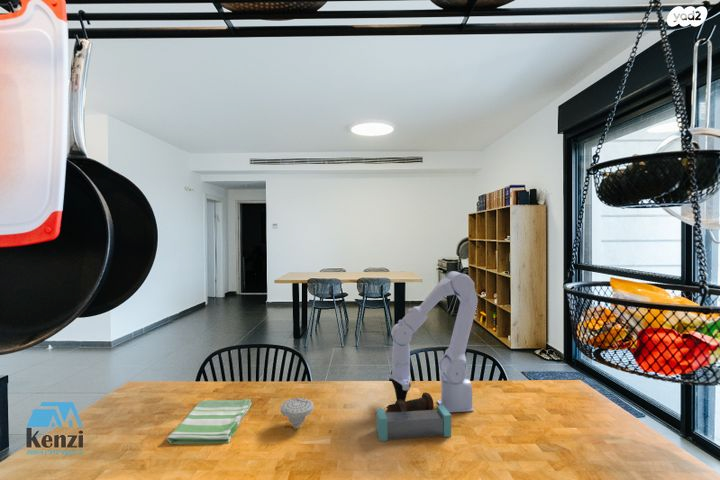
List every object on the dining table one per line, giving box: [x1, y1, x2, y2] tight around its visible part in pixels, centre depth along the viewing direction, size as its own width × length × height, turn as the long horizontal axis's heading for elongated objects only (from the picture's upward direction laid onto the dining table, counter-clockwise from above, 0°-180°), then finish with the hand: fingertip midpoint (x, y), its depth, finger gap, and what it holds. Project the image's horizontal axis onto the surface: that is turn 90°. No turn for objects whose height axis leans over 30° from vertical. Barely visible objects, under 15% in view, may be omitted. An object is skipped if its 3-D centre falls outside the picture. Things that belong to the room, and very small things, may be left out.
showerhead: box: [280, 397, 314, 429], centre depth 104 cm, size 9×7×10 cm
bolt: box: [385, 391, 435, 413], centre depth 113 cm, size 6×5×15 cm
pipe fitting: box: [376, 404, 452, 442], centre depth 101 cm, size 20×6×6 cm, turn 97°
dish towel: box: [166, 398, 253, 445], centre depth 107 cm, size 18×23×3 cm
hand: (400, 403), depth 116 cm, fingers closed
